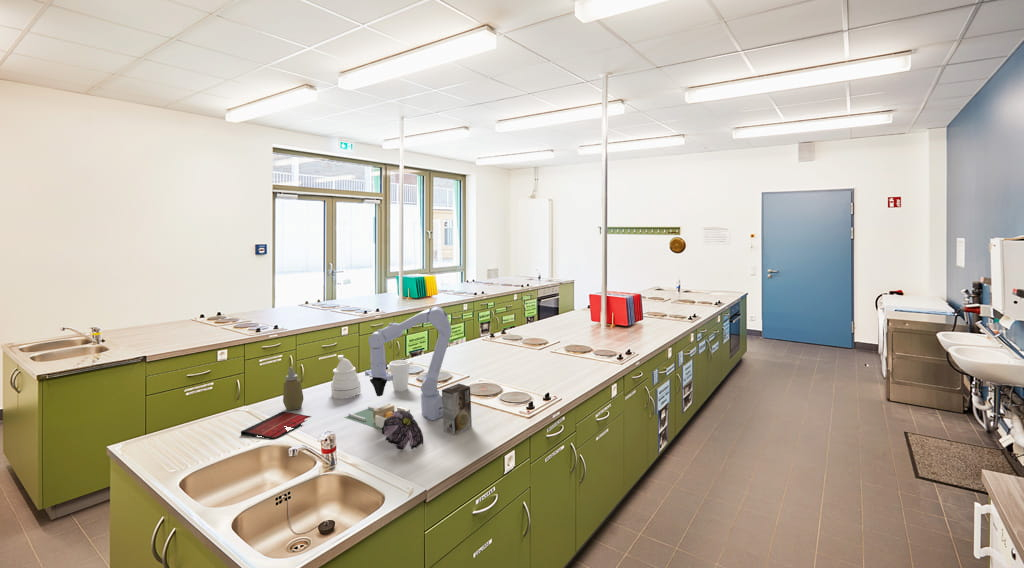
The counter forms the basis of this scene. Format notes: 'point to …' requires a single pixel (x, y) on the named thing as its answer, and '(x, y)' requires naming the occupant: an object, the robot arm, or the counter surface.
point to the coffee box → (456, 409)
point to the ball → (388, 414)
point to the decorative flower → (402, 430)
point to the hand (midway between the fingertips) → (379, 395)
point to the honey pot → (345, 380)
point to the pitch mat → (364, 417)
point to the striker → (383, 411)
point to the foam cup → (400, 374)
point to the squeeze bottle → (292, 391)
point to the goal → (380, 420)
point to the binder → (276, 425)
